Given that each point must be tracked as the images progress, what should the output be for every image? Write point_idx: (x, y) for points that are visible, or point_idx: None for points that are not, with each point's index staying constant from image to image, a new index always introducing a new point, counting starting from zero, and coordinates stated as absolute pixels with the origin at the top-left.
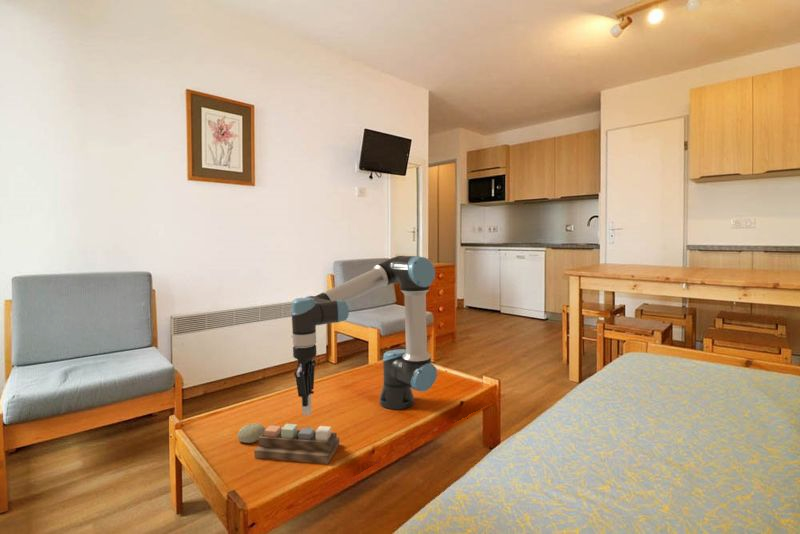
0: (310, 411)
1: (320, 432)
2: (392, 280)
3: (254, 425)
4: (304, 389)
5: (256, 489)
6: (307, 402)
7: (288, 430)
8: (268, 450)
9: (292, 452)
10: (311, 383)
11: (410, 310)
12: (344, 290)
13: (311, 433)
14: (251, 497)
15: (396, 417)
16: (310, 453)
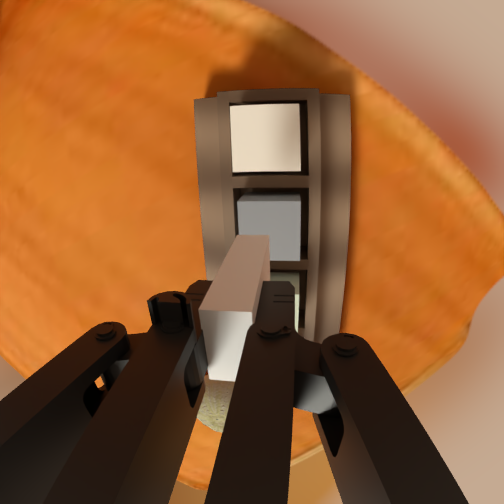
0: (254, 242)
1: (299, 142)
2: None
3: (217, 416)
4: (419, 421)
5: (475, 276)
6: (268, 294)
7: (298, 310)
8: (333, 330)
9: (342, 245)
10: (109, 391)
11: None
12: None
13: (276, 199)
14: (498, 272)
15: (26, 23)
16: (341, 171)
